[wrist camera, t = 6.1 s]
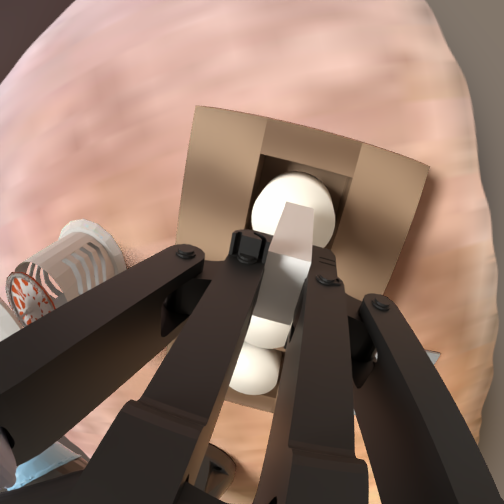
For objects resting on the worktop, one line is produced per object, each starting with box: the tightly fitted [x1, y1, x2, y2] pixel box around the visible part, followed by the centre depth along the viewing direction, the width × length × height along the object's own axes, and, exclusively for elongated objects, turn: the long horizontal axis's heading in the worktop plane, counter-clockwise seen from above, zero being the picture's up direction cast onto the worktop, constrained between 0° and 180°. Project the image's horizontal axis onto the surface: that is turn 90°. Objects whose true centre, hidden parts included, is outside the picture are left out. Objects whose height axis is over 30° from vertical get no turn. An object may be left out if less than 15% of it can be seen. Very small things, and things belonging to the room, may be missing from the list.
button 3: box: [252, 171, 335, 248], centre depth 20 cm, size 5×5×3 cm
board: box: [167, 106, 430, 413], centre depth 26 cm, size 26×16×4 cm, turn 168°
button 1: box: [229, 341, 282, 395], centre depth 28 cm, size 5×5×3 cm
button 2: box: [244, 315, 293, 349], centre depth 24 cm, size 5×5×3 cm
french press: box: [0, 219, 127, 342], centre depth 20 cm, size 10×12×25 cm
